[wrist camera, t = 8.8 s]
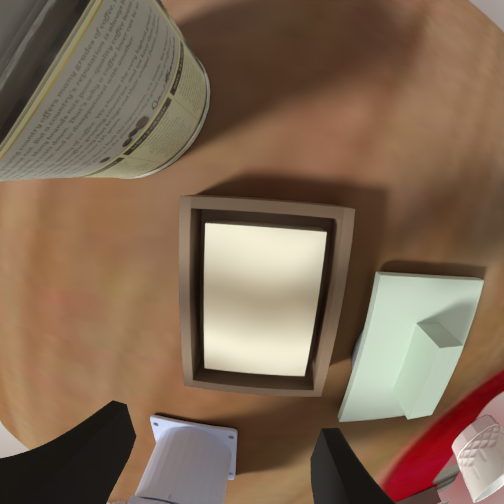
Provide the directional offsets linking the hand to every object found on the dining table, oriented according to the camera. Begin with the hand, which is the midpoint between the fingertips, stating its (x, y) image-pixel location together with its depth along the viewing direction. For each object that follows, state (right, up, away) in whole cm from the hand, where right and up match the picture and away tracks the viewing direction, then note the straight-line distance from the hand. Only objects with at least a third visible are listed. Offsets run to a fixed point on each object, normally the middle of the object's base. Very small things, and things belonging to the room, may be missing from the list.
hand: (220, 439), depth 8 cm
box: (+2, +4, +10) cm, 11 cm away
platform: (+27, -32, +17) cm, 45 cm away
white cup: (+29, -16, +13) cm, 36 cm away
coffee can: (-6, +17, +8) cm, 19 cm away
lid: (+13, -1, +9) cm, 16 cm away
